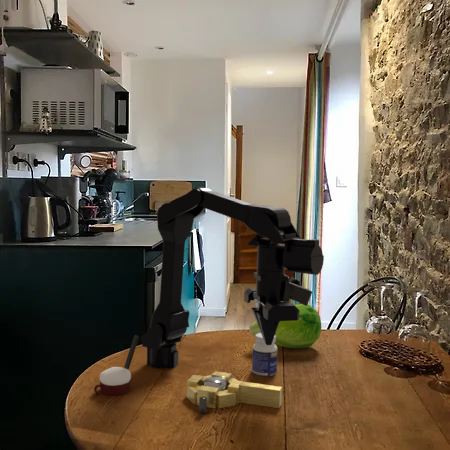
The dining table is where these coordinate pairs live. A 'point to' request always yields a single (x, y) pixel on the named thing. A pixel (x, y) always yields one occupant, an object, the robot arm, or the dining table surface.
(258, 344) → the pill bottle
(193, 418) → the dining table surface
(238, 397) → the wooden ring wrench
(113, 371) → the cocoa
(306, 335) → the lettuce
